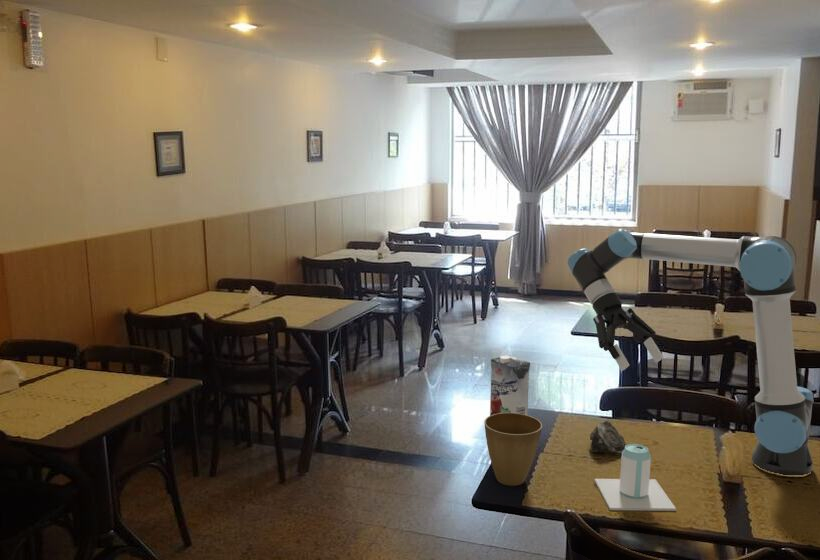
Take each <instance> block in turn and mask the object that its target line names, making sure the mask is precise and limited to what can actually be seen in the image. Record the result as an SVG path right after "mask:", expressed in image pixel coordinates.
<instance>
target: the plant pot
mask: <svg viewBox="0 0 820 560" xmlns="http://www.w3.org/2000/svg"><path fill="white" fill-rule="evenodd" d="M483 423H484V433H485V438H486V445H487V450H488V455H489V459H490V463H491V466H492V469H493V472H494V473H493V474H494V475H495V478H496V480H497V482H499V483H500V484H502V485H505V486H511V487H512V486H513V487H514V486H515V487H516V486H520V485H522V484H524V483H525V482H526V479H527V477H528V475H529V472H530V470H531V468H532V465H533V463H534V460H535V457H536V455H537V454H536V453H537V450H538V447H539V443H540V440H541V439H540V438H541V435H542V429H543V423H542V422H541V421H540V420H539V419H537V418H535V417H533V416H531V415H528V414H527V415H525V414H519V413H497V414H493V415H491V416H490V415H489V416H487V417H486V418H485V419H484V422H483Z"/></svg>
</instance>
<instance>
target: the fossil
mask: <svg viewBox="0 0 820 560" xmlns="http://www.w3.org/2000/svg"><path fill="white" fill-rule="evenodd" d="M589 440H590V441H591V442H590V453H597V452H600V453H603V452H604V453H605V452H608V453H610V454H611V455H614V456H619V455H622V451H623V450H624V449H625V446H626V441H625V438H624V436H623V435H621V434H620V433H619V431H618V430H617V429H616V427H615V425H613V424H612V423H611V422H610V421H609V420H602V421H600V422H599V423H598V424H596V426H595V428H594V429H593V431H591V432H590V435H589Z"/></svg>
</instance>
